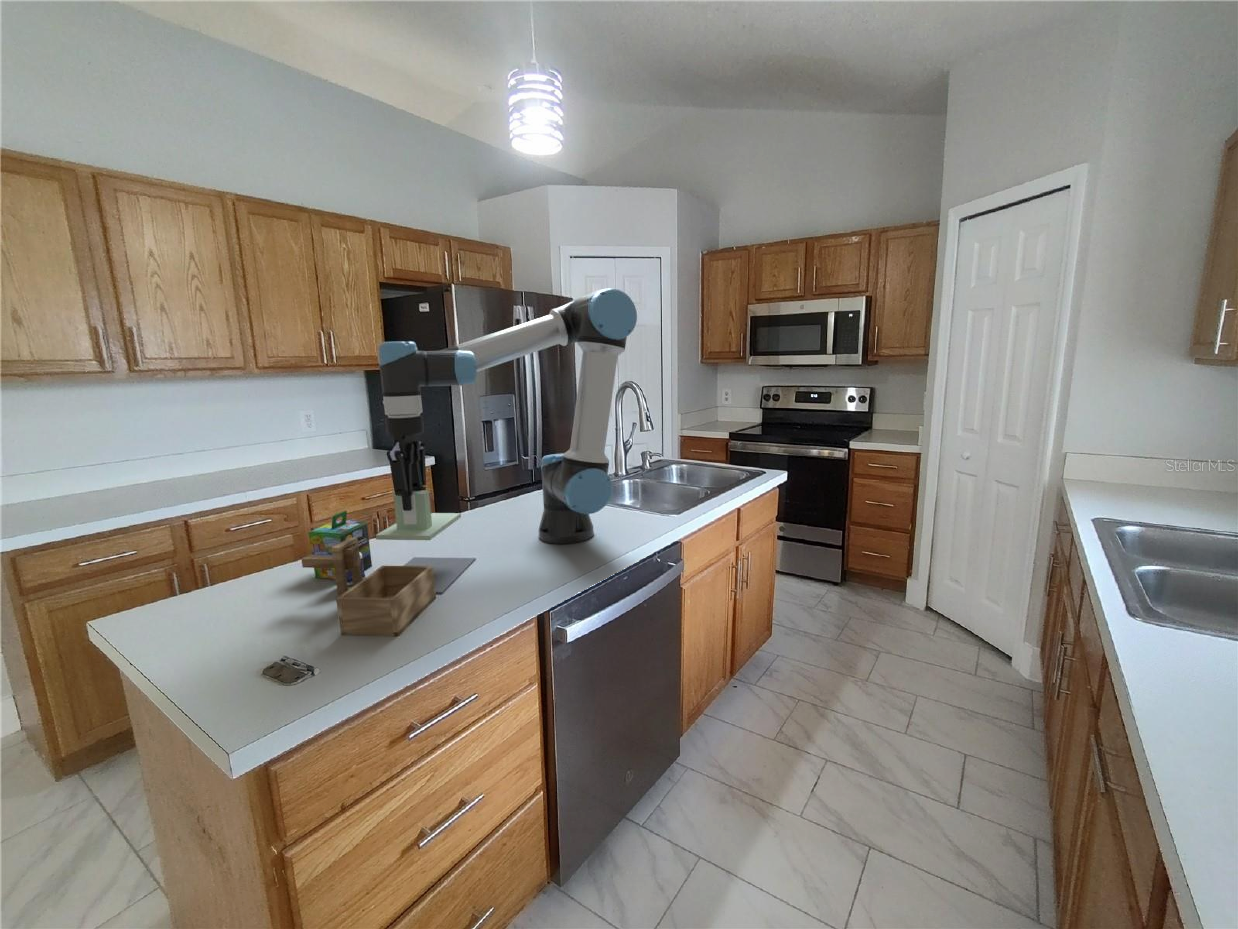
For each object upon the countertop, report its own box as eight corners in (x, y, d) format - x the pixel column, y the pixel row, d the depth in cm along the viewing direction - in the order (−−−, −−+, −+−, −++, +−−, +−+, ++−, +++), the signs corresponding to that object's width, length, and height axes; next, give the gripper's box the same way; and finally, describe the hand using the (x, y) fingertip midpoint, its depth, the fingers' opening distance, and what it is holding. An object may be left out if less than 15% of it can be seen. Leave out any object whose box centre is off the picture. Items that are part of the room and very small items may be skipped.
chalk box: (341, 564, 136) (333, 506, 133) (373, 566, 134) (366, 507, 131) (313, 578, 127) (304, 517, 125) (347, 581, 125) (339, 518, 122)
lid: (430, 540, 116) (426, 498, 115) (376, 539, 118) (371, 498, 116) (461, 517, 133) (458, 480, 131) (413, 516, 134) (410, 480, 132)
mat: (475, 559, 136) (475, 558, 136) (442, 593, 117) (442, 592, 117) (414, 558, 138) (414, 557, 138) (371, 592, 119) (370, 590, 119)
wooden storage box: (398, 636, 99) (390, 566, 97) (311, 634, 101) (300, 565, 99) (436, 597, 115) (429, 536, 112) (360, 596, 117) (352, 536, 114)
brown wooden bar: (354, 568, 110) (351, 550, 109) (302, 567, 111) (299, 549, 110) (360, 563, 112) (358, 545, 111) (310, 563, 113) (307, 545, 113)
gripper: (404, 412, 125) (414, 512, 130) (367, 420, 110) (379, 532, 115) (436, 411, 125) (445, 512, 129) (403, 419, 109) (414, 533, 114)
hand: (414, 521), depth 122 cm, fingers closed on lid, 2 cm apart
